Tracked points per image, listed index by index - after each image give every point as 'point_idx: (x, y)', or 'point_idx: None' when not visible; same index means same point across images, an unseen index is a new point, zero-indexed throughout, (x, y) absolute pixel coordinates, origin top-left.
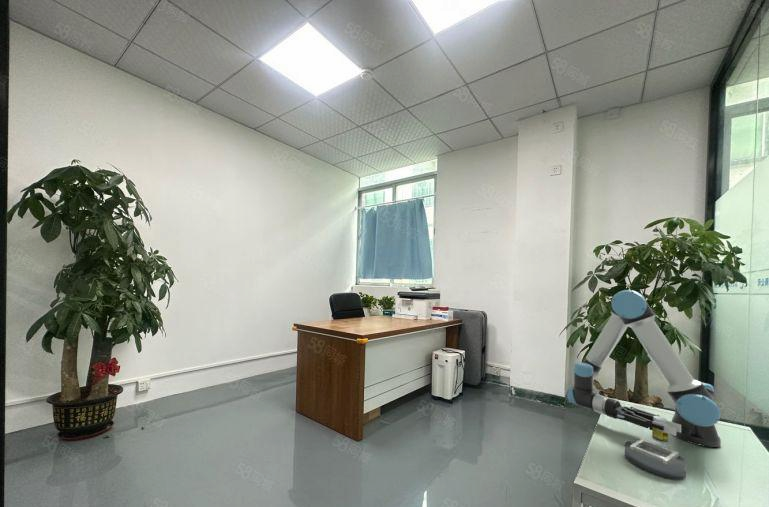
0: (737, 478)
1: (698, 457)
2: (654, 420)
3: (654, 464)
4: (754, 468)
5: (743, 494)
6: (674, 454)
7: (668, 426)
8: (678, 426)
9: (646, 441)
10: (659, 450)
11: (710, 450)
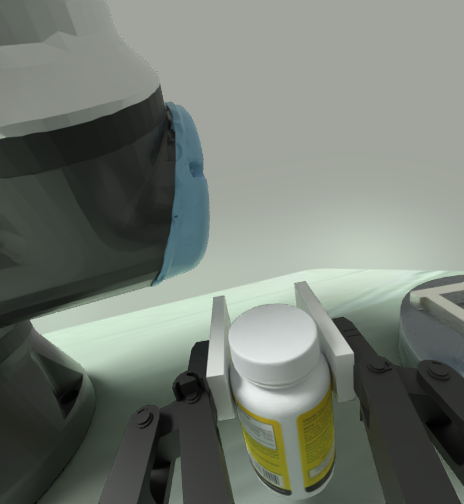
0: (264, 298)
1: None
2: (315, 364)
3: None
4: (163, 310)
5: (331, 275)
6: (450, 286)
7: (316, 297)
8: (226, 308)
9: None
10: None
11: (118, 374)
